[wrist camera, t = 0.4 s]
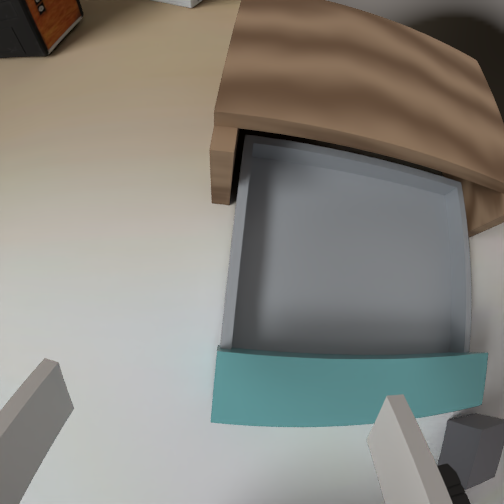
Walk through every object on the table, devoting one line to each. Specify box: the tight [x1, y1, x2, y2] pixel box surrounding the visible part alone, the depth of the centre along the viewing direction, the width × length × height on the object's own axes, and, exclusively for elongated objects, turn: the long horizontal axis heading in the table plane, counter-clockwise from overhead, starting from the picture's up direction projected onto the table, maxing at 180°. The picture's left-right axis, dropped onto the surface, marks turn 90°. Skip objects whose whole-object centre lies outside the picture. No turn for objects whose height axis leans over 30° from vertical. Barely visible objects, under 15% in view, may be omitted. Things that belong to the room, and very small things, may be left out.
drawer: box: [211, 134, 488, 427], centre depth 25 cm, size 23×24×6 cm
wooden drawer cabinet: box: [210, 0, 504, 238], centre depth 27 cm, size 20×28×11 cm
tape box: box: [437, 413, 504, 490], centre depth 23 cm, size 7×5×6 cm
